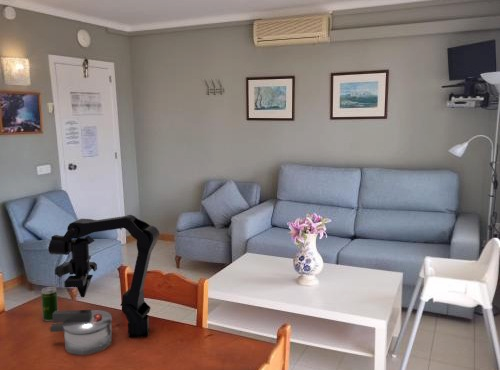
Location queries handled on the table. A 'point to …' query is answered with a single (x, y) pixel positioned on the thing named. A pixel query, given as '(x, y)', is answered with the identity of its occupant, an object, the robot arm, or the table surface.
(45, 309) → the beer can
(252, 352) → the table surface
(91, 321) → the cooker lid
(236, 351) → the table surface
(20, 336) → the table surface
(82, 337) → the cooker pot
